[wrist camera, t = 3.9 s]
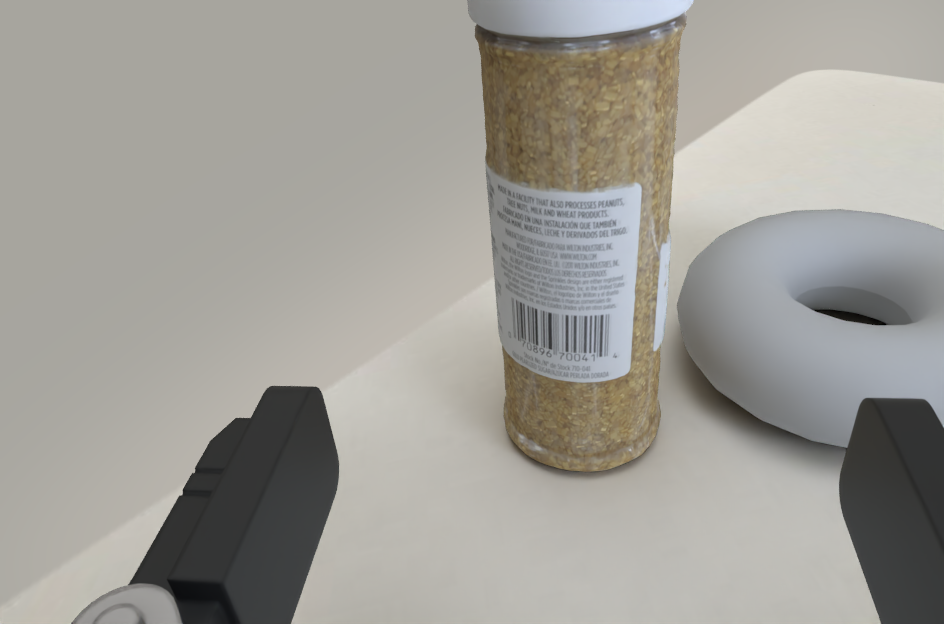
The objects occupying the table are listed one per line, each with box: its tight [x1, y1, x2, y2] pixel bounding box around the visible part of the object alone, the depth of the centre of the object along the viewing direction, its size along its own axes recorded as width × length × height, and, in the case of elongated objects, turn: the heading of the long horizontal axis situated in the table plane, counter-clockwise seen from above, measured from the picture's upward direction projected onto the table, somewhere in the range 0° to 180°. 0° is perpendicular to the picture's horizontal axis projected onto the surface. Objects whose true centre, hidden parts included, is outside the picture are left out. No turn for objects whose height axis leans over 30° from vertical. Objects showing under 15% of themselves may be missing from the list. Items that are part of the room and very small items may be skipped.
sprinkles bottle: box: [468, 0, 694, 472], centre depth 18 cm, size 5×5×14 cm
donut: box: [677, 209, 944, 448], centre depth 22 cm, size 10×4×10 cm
